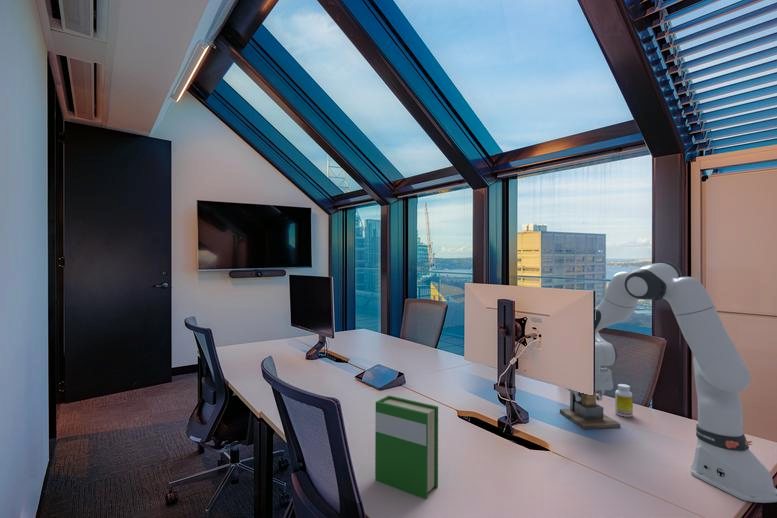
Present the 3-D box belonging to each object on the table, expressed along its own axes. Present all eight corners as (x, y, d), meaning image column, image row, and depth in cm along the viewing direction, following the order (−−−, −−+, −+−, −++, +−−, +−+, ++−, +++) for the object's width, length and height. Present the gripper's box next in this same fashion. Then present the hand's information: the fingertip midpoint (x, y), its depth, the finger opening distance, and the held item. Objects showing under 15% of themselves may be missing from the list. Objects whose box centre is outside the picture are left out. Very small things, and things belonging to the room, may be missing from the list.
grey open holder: (603, 419, 168) (603, 385, 168) (585, 420, 167) (585, 386, 167) (587, 409, 180) (587, 378, 180) (570, 410, 179) (570, 378, 179)
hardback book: (437, 487, 119) (438, 406, 120) (426, 499, 113) (426, 414, 113) (388, 470, 129) (388, 395, 129) (375, 480, 123) (375, 401, 123)
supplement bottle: (635, 418, 174) (635, 388, 174) (618, 416, 175) (618, 387, 175) (629, 412, 180) (629, 383, 180) (613, 411, 181) (612, 382, 182)
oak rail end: (596, 417, 170) (596, 389, 170) (587, 418, 169) (587, 389, 170) (590, 414, 174) (590, 386, 174) (581, 414, 173) (581, 386, 174)
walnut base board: (620, 427, 163) (620, 423, 163) (583, 429, 162) (583, 425, 162) (593, 411, 181) (593, 407, 181) (559, 412, 180) (559, 409, 180)
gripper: (606, 365, 176) (606, 397, 176) (562, 366, 174) (562, 398, 174) (616, 369, 170) (616, 402, 170) (570, 370, 168) (570, 403, 168)
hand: (588, 400), depth 172 cm, fingers open, 8 cm apart
